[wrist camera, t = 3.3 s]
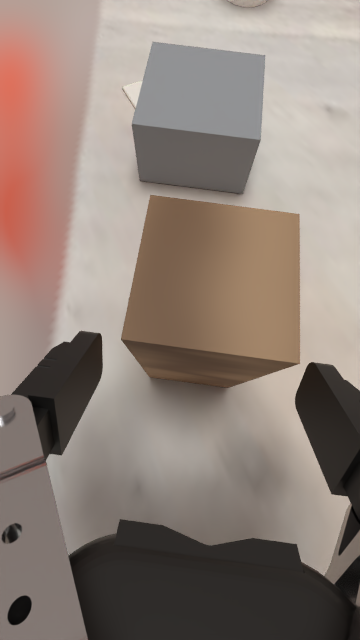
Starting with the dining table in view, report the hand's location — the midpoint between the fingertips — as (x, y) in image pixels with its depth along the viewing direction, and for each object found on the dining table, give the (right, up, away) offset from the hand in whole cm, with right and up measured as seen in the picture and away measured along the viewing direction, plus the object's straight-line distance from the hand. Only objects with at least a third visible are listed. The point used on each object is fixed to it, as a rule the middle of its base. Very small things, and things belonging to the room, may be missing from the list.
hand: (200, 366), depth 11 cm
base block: (+1, +18, +14) cm, 23 cm away
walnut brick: (0, 0, +9) cm, 9 cm away
